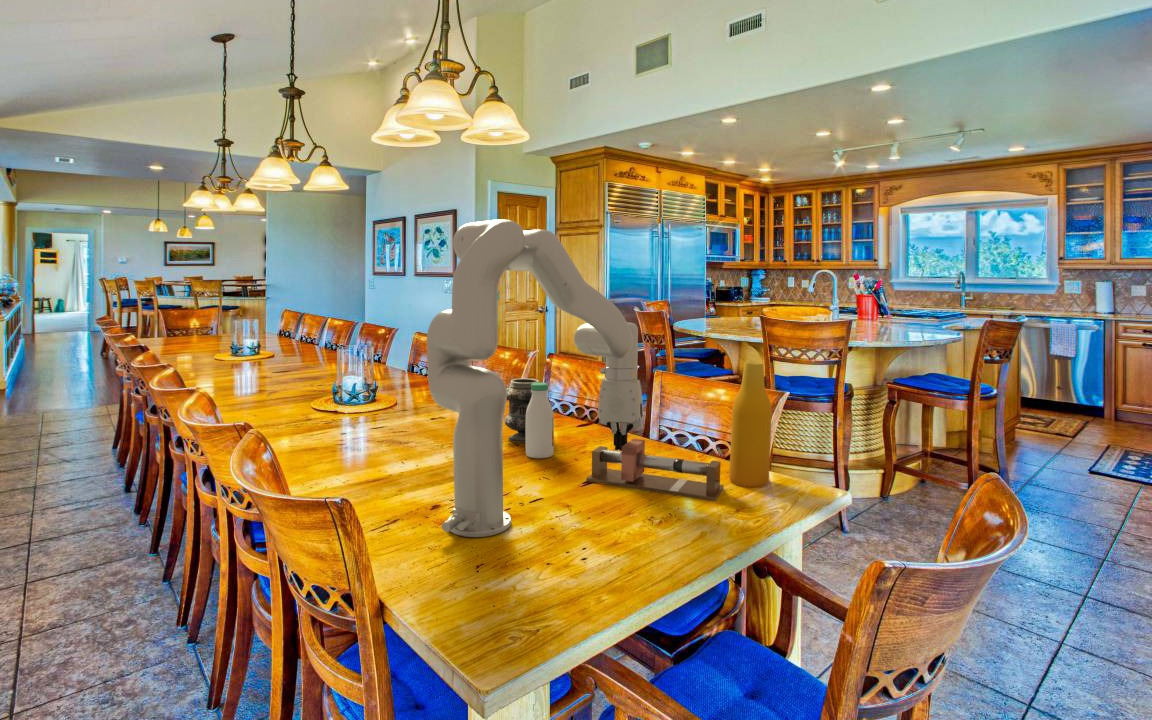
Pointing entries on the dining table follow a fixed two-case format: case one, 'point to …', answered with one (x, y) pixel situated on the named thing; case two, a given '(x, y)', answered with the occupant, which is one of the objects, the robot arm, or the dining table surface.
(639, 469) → the collar
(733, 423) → the beer bottle
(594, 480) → the pipe rig
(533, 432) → the milk bottle
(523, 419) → the apothecary jar
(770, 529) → the dining table surface
